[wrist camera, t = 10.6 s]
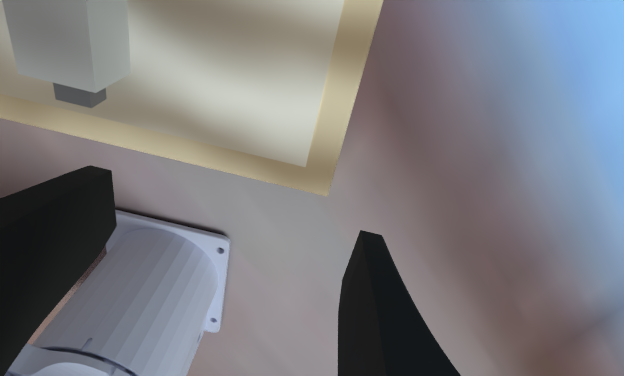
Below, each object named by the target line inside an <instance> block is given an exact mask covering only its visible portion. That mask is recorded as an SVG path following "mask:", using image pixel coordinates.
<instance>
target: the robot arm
mask: <svg viewBox="0 0 624 376" xmlns="http://www.w3.org/2000/svg"><path fill="white" fill-rule="evenodd" d="M105 245H106V251H107V254H106V255H105V257H104V258H103V259H102V260H101V261H100V263H99V264H98V265H97V266H96V268H95V269H94V270H93V271H92V272H91V274H90V275H89V276H88V277H87V278H86V280H85V281H84V282H83V283H82V285H81V286H80V287H79V288H78V289H77V291H76V292H75V293H74V294H73V295H72V297H71V298H70V299H69V300H68V301H67V303H66V304H65V305H64V306H63V308H62V309H61V310H60V311H59V312H58V314H57V315H56V316H55V317H54V318H53V320H52V321H51V322H50V323H49V325H48V326H47V327H46V328H45V329H44V331H43V332H42V333H41V334H40V335H39V337H38V338H37V339H36V340H35V341H34V343H33V344H32V345H30V344H28V343H27V342H28V340H29V339H30V337H31V336H32V335H33V333H34V332H35V331H36V329H37V328H38V327H39V326H40V324H41V323H42V322H43V321H44V319H45V318H46V317H47V316H48V315H49V313H50V312H51V311H52V310H53V309H54V308H55V306H56V305H57V304H58V303H59V302H60V301H61V299H62V298H63V297H64V296H65V295H66V293H67V292H68V291H69V290H70V289H71V288H72V286H73V285H74V284H75V283H76V282H77V281H78V279H79V278H80V277H81V276H82V275H83V273H84V272H85V271H86V270H87V269H88V267H89V266H90V265H91V264H92V263H93V261H94V260H95V259H96V258H97V256H98V255H99V254H100V252H101V251H102V249H103V248H104V246H105ZM220 248H223V249H224V250H222V249H220ZM229 251H230V240H229V238H228V237H226V236H224V235H220V234H216V233H212V232H207V231H203V230H199V229H195V228H191V227H186V226H182V225H178V224H174V223H170V222H165V221H161V220H157V219H153V218H148V217H144V216H140V215H136V214H132V213H127V212H123V211H119V210H115V202H114V192H113V182H112V173H111V170H107V169H103V168H98V167H94V166H87V167H84V168H81V169H78V170H75V171H72V172H69V173H67V174H64V175H61V176H59V177H56V178H53V179H51V180H48V181H46V182H43V183H40V184H38V185H35V186H33V187H30V188H27V189H25V190H22V191H19V192H17V193H14V194H11V195H9V196H6V197H3V198H0V376H186V375H187V372H188V370H189V367H190V365H191V363H192V360H193V358H194V355H195V353H196V350H197V348H198V346H199V343H200V341H201V338H202V336H203V333H204V331H209V332H218V331H219V329H220V326H221V318H222V310H223V302H224V293H225V285H226V276H227V268H228V259H229ZM338 376H461V375H460V374H459V373H458V371H457V370H456V369H455V367H454V366H453V365H452V363H451V362H450V360H449V359H448V357H447V356H446V354H445V353H444V352H443V350H442V349H441V347H440V346H439V344H438V343H437V341H436V340H435V338H434V336H433V335H432V333H431V332H430V330H429V328H428V327H427V325H426V323H425V322H424V320H423V318H422V316H421V315H420V313H419V311H418V309H417V308H416V306H415V304H414V302H413V300H412V298H411V296H410V294H409V293H408V291H407V289H406V287H405V285H404V283H403V281H402V279H401V277H400V275H399V273H398V270H397V268H396V266H395V264H394V262H393V259H392V257H391V255H390V253H389V250H388V248H387V246H386V243H385V241H384V239H383V237H382V235H379V234H374V233H370V232H366V231H362V230H360V233H359V236H358V238H357V241H356V244H355V247H354V249H353V252H352V255H351V258H350V260H349V263H348V266H347V268H346V271H345V274H344V277H343V279H342V287H341V294H340V303H339V311H338Z"/></svg>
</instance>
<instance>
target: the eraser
mask: <svg viewBox="0 0 624 376" xmlns="http://www.w3.org/2000/svg"><path fill="white" fill-rule="evenodd" d="M2 3H3V7H4V12H5V16H6V21H7V25H8V30H9V34H10V39H11V44H12V48H13V53H14V57H15V62H16V66H17V71H18V74H21V75H25V76H29V77H33V78H37V79H41V80H45V81H49V82H53V87H54V93H55V99H56V100H60V101H64V102H68V103H72V104H76V105H80V106H84V107H88V108H93V107H94V106H96V105H98V104H99V103H101V102H103V101H104V100H106V99H107V96H106V87H107V86H109V85H111V84H113V83H114V82H116V81H118V80H120V79H122V78H123V77H125V76H127V75H129V74H130V73H131V65H130V46H129V27H128V8H127V0H2Z"/></svg>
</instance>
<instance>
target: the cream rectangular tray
mask: <svg viewBox="0 0 624 376" xmlns="http://www.w3.org/2000/svg"><path fill="white" fill-rule="evenodd" d="M382 3H383V0H127V8H128V27H129V46H130V65H131V73H130V74H129V75H127V76H125V77H123V78H122V79H120V80H118V81H116V82H114V83H113V84H111V85H109V86H107V87H106V96H107V99H106V100H104V101H103V102H101V103H99V104H98V105H96V106H94V107H93V108H88V107H84V106H80V105H76V104H72V103H68V102H64V101H60V100H56V99H55V93H54V87H53V82H49V81H45V80H41V79H37V78H33V77H29V76H25V75H21V74H18V71H17V66H16V62H15V57H14V53H13V48H12V44H11V39H10V34H9V30H8V25H7V21H6V16H5V12H4V7H3V3H2V0H0V118H3V119H7V120H11V121H16V122H20V123H24V124H28V125H32V126H36V127H41V128H45V129H49V130H53V131H57V132H61V133H66V134H70V135H74V136H78V137H82V138H86V139H90V140H95V141H99V142H103V143H107V144H111V145H115V146H120V147H124V148H128V149H132V150H136V151H140V152H145V153H149V154H153V155H157V156H161V157H165V158H170V159H174V160H178V161H182V162H186V163H190V164H195V165H199V166H203V167H207V168H211V169H215V170H219V171H224V172H228V173H232V174H236V175H240V176H244V177H249V178H253V179H257V180H261V181H265V182H269V183H274V184H278V185H282V186H286V187H290V188H294V189H299V190H303V191H307V192H311V193H315V194H319V195H324V196H328V193H329V189H330V186H331V182H332V179H333V175H334V172H335V168H336V165H337V161H338V158H339V154H340V151H341V147H342V144H343V140H344V137H345V133H346V129H347V126H348V122H349V119H350V115H351V112H352V108H353V105H354V101H355V98H356V94H357V91H358V87H359V84H360V80H361V77H362V73H363V70H364V66H365V63H366V59H367V56H368V52H369V49H370V45H371V42H372V38H373V34H374V31H375V27H376V24H377V20H378V17H379V13H380V10H381V6H382Z"/></svg>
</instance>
